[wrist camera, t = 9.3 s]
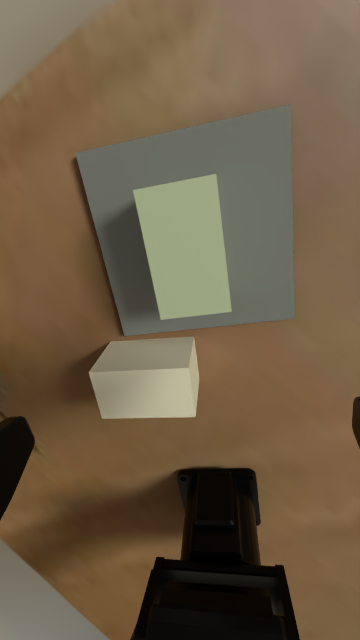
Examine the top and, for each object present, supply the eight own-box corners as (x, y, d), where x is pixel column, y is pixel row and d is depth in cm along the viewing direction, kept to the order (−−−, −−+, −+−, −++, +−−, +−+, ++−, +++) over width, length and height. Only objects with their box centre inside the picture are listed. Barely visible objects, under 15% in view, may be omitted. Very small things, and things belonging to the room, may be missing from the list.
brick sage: (228, 286, 18) (231, 312, 14) (172, 293, 18) (160, 320, 15) (216, 177, 15) (216, 173, 12) (152, 189, 16) (132, 190, 12)
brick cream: (194, 335, 20) (188, 367, 17) (199, 378, 22) (195, 416, 18) (111, 340, 21) (88, 372, 18) (121, 381, 22) (102, 418, 19)
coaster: (292, 314, 19) (294, 318, 18) (126, 332, 20) (124, 336, 20) (287, 107, 14) (290, 104, 14) (80, 153, 16) (75, 152, 16)
